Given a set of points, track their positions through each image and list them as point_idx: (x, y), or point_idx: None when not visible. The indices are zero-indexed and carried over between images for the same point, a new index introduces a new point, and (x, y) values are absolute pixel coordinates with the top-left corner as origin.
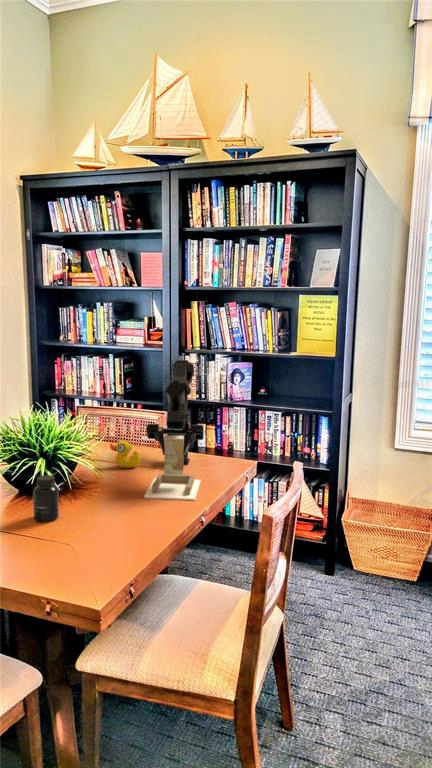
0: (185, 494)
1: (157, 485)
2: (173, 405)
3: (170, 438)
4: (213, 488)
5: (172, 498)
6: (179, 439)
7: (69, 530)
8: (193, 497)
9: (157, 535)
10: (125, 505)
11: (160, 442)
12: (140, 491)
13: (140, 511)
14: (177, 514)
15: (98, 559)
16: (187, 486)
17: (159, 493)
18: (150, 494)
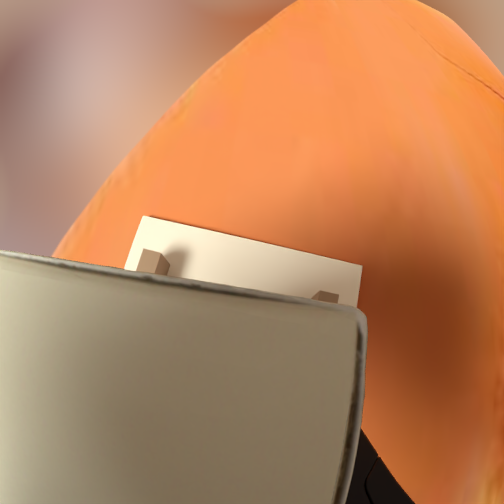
0: (171, 269)
1: None
2: None
3: (191, 325)
4: None
5: (236, 238)
6: (7, 252)
7: (472, 99)
8: (145, 229)
9: (294, 37)
10: (413, 203)
11: (388, 471)
12: (377, 354)
13: (357, 147)
14: (234, 113)
15: (380, 14)
16: (151, 262)
17: (294, 295)
18: (336, 285)
